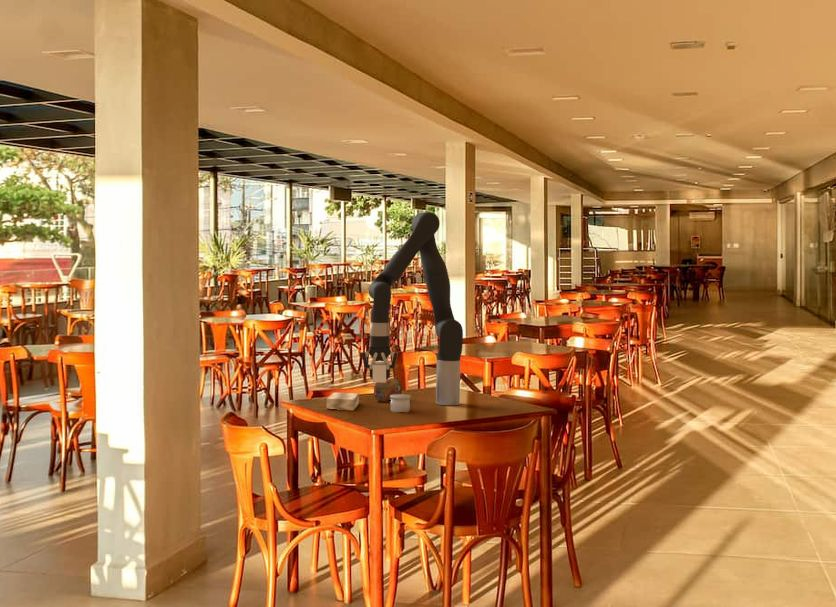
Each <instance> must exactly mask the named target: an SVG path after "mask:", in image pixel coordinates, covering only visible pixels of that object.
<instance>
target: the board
mask: <svg viewBox="0 0 836 607" xmlns="http://www.w3.org/2000/svg"><path fill="white" fill-rule="evenodd" d="M359 404H360V393H359V392H354V393H353V392H332V393H331V394H330V395H329V396H328V397H327V398H326V409H327V408H329V409H337V410H336V411H354V410H355V409H356V408H357V407H358V405H359Z"/></svg>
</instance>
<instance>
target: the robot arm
mask: <svg viewBox="0 0 836 607" xmlns="http://www.w3.org/2000/svg"><path fill="white" fill-rule="evenodd" d="M440 224H441V223H440V219H439V217H438V215H437V214H435V213H434V212H432V211H423V212H420V213H417V214H415V215H414V216H413V218H412V221H411V230H412V233H410V235H409V237H408V238H407V240H406V241H404V243H403V244H402V245H401V247H400V248H398V250H397V251H396V252H395V253H394V254H393V255H392V257H391V258H390V260H389V261H388V262H387V264H386V266H385V267H384V268H383V270H382V271H381V272H380V273H379V274H378V275H377V276H376V277H375V278H374V280H373V281H372V282H371V284H370V285H369V287H368V295H369V297H370V298H371V299H373V303H372V304H373V305H372V308H371V309H370V325H369V349H368V351H363V352H361V357H362V361H363V365H364V368H366V369H369V378H370V379H371V380H373V365H372V363H375V362H384V363H385V364H386V363H387V365H386V368H387V369H386V379H390V377H391V370H392V369H394V368H395V366H396V363H397V359H398V354H399V353H398V352H397V351H392V349H391V348H390V347H391V346H390V344H391V341H390V339H391V336H390V330H391V329H390V308H391V307H390V306H391V302H392V301H391V300H392V290H391V287H392V286H393V285H394V283H396V282H398V281H399V279H401V277H403V274H404V273H405V271H406V269H407V268H409V265H410V264H411V263H412V261H413V260H414V258H415V257H416V255H417V254H418V253H419V256H420V263H421V267H422V271H423V276H424V281H425V285H426V289H427V293H428V297H429V300H430V303H431V306H432V311H433V320H434V328H435V329H434V330H435V335H436V336H437V337H438V339H439V341H438V342H439V343H438V351H437V353H436V369H435V370H436V373H435V374H436V375H435V377H436V378H435V379H436V380H435V404H436V405H439V406H460V402H461V401H460V397H461V396H460V395H461V394H460V393H461V357H462V352H463V344H464V343H463V342H464V330H463V326H462V324H461V323H460V322H459V321H458V320H456V319H455V317H454V313H453V310H452V307H451V306H452V305H451V281H450V276H449V271H448V269H447V266H446V263H445V260H444V259H443V257H442V254H441V253H440V251H439V249H438V246H437V242H436V236H435V234H436V233H437V231H439V228H440ZM369 355H370V357H371V358H372V359H371V362H370V364H369V362H368V357H369ZM390 355H391V358H392V362H391V364H390V362H389V360H388V358H389V356H390Z"/></svg>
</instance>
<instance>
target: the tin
mask: <svg viewBox="0 0 836 607" xmlns="http://www.w3.org/2000/svg"><path fill="white" fill-rule="evenodd" d="M402 391H403V390H402V383H401V381H400V379H397V378H388V379H387V382H386V383H383V382H375V384H374V386H373V395H374V398H375V400H376V401H378V402H382V403H384V402H383V401H386V402H389V401H388V400H391V398H390V395H392V394H402Z"/></svg>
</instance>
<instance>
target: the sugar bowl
mask: <svg viewBox="0 0 836 607" xmlns="http://www.w3.org/2000/svg"><path fill="white" fill-rule="evenodd" d="M390 398H391V401H390V410H391V411H393V412H392V413H397V412H405V413H409V412H410V404H411V400H410V399H411V395H410V394H403V393H401V394H392V395H390ZM391 411H390V412H391Z"/></svg>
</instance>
